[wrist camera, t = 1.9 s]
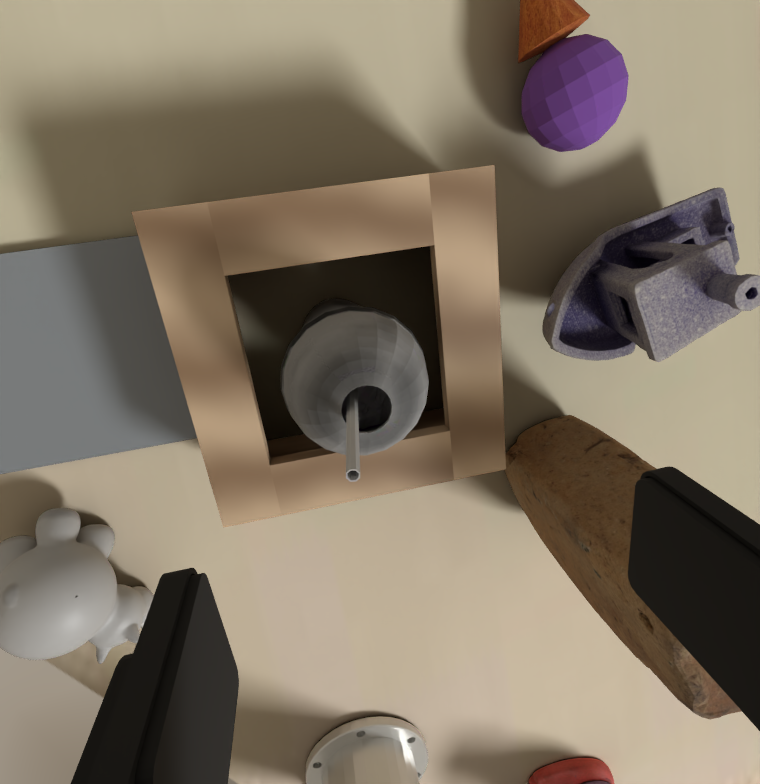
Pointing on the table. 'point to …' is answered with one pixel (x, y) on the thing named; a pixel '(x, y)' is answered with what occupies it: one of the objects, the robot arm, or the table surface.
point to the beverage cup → (354, 380)
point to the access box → (317, 244)
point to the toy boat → (652, 284)
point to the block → (602, 542)
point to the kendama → (568, 77)
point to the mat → (84, 356)
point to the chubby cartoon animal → (65, 591)
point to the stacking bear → (573, 772)
